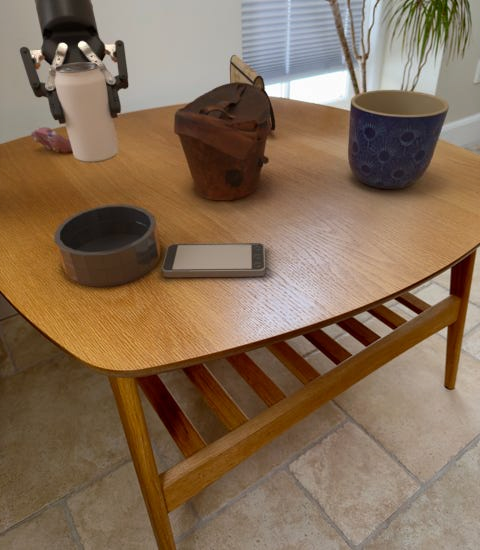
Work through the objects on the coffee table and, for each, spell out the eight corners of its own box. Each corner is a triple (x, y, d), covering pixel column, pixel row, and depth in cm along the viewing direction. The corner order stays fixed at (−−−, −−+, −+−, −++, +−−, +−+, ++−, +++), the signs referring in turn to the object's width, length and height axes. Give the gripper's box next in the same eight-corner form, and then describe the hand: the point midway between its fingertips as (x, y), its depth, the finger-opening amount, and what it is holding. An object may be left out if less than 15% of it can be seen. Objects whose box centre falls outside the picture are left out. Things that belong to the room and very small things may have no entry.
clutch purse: (282, 140, 107) (284, 75, 98) (254, 143, 106) (254, 77, 97) (252, 106, 131) (251, 51, 122) (229, 109, 130) (227, 53, 121)
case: (183, 216, 78) (172, 114, 67) (178, 171, 93) (168, 83, 83) (281, 206, 80) (284, 106, 69) (260, 164, 95) (260, 77, 85)
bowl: (50, 288, 62) (38, 256, 58) (80, 234, 73) (72, 205, 70) (152, 285, 62) (146, 253, 58) (166, 232, 73) (162, 203, 70)
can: (90, 167, 60) (67, 74, 53) (65, 156, 64) (41, 67, 57) (128, 153, 64) (111, 65, 57) (103, 143, 68) (85, 59, 60)
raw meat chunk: (42, 153, 108) (23, 132, 102) (54, 140, 110) (36, 118, 104) (68, 161, 104) (49, 139, 98) (79, 147, 105) (61, 125, 99)
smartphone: (265, 270, 62) (161, 271, 62) (265, 276, 62) (162, 277, 63) (264, 242, 68) (168, 243, 68) (263, 248, 68) (169, 249, 69)
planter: (356, 158, 97) (366, 85, 88) (436, 172, 90) (456, 95, 81) (329, 187, 85) (337, 108, 76) (418, 206, 78) (439, 121, 69)
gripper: (1, -11, 56) (25, 109, 54) (115, -16, 59) (141, 97, 57) (17, 31, 63) (39, 137, 61) (118, 24, 66) (141, 125, 64)
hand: (88, 117), depth 59 cm, fingers closed on can, 6 cm apart
